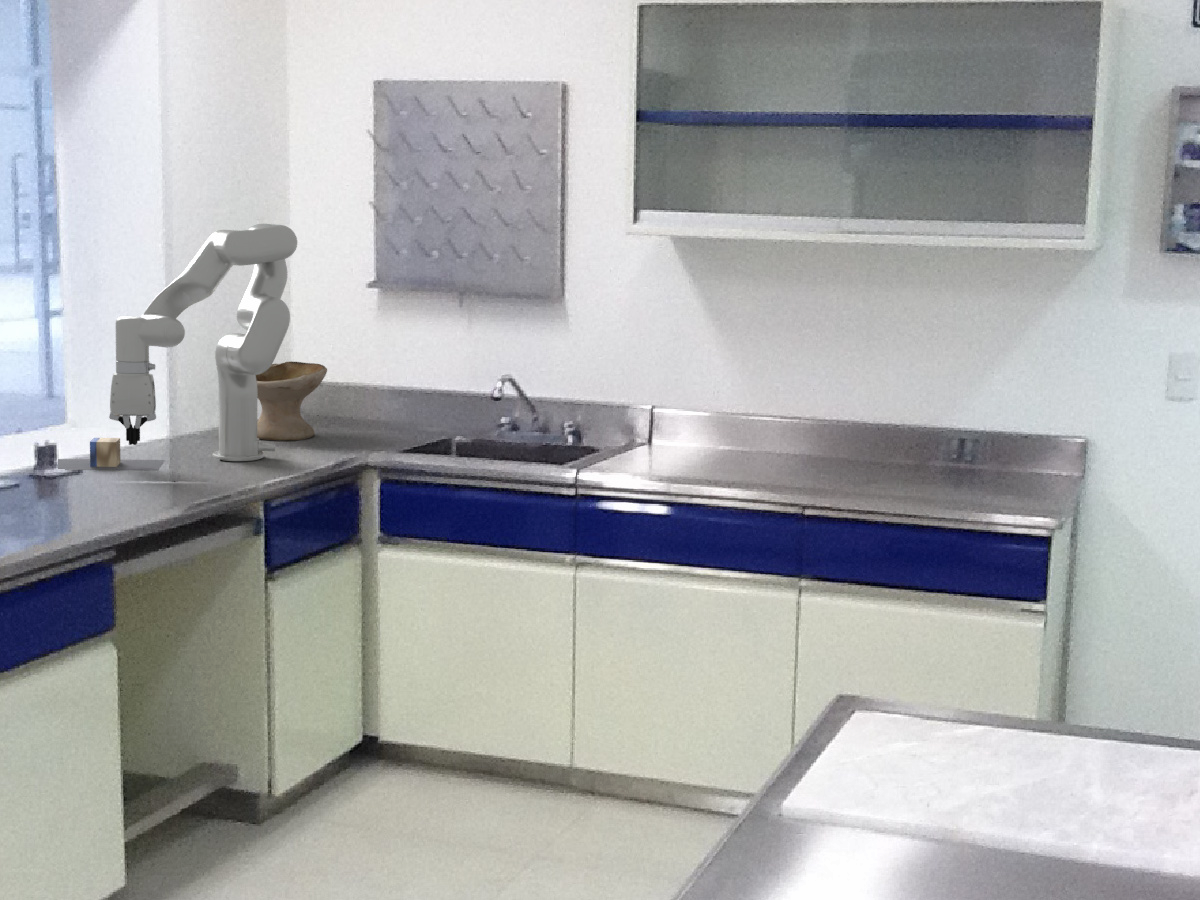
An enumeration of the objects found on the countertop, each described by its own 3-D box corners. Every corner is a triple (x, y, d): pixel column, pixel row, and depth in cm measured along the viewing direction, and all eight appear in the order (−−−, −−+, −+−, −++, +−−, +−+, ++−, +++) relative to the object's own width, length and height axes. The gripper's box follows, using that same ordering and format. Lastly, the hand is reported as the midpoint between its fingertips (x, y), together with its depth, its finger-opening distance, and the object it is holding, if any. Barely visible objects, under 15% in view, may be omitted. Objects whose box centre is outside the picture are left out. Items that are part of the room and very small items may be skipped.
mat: (165, 461, 343) (165, 459, 343) (157, 472, 329) (157, 470, 329) (54, 460, 338) (54, 458, 338) (42, 471, 325) (42, 469, 325)
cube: (120, 438, 336) (94, 437, 335) (116, 442, 330) (89, 441, 329) (120, 462, 337) (94, 462, 336) (116, 466, 331) (90, 466, 330)
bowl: (226, 430, 396) (226, 360, 392) (314, 428, 406) (314, 360, 403) (244, 444, 373) (244, 370, 370) (336, 442, 383) (336, 370, 380)
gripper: (166, 367, 336) (167, 442, 339) (102, 365, 333) (103, 441, 336) (163, 370, 329) (163, 447, 332) (97, 369, 326) (98, 446, 329)
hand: (133, 443), depth 334 cm, fingers closed
